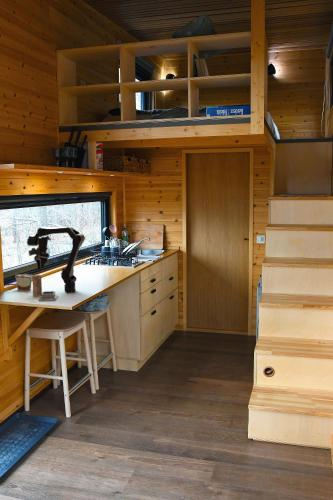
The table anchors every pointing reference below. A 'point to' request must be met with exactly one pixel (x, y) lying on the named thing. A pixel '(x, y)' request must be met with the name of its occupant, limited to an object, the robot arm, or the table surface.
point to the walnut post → (37, 285)
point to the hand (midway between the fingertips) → (39, 269)
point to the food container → (24, 281)
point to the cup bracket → (48, 296)
